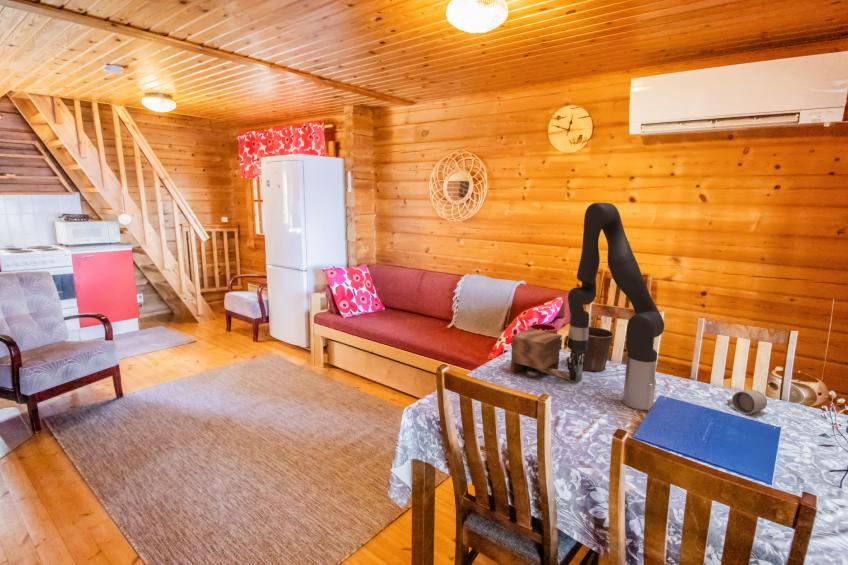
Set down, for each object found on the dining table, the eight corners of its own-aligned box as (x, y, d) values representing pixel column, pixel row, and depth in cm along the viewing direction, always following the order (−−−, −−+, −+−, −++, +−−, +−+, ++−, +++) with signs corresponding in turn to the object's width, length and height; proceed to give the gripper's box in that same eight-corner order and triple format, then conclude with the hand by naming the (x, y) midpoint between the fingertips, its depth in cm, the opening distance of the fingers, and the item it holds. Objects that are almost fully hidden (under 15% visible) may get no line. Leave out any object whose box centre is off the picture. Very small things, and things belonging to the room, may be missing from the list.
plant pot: (616, 367, 194) (620, 331, 192) (601, 377, 183) (605, 339, 180) (580, 358, 205) (583, 324, 203) (564, 366, 194) (567, 330, 191)
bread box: (558, 371, 188) (561, 335, 185) (541, 383, 175) (544, 343, 173) (527, 363, 197) (529, 328, 194) (508, 373, 185) (510, 336, 182)
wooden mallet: (581, 380, 179) (582, 363, 177) (577, 383, 176) (579, 366, 174) (531, 367, 193) (532, 351, 191) (526, 369, 190) (527, 353, 188)
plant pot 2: (538, 344, 224) (539, 321, 222) (560, 351, 214) (562, 327, 212) (521, 349, 216) (523, 325, 214) (544, 356, 206) (546, 331, 204)
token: (540, 375, 183) (540, 369, 183) (535, 379, 179) (536, 373, 179) (528, 373, 186) (529, 367, 186) (523, 376, 182) (524, 370, 182)
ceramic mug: (767, 413, 153) (770, 392, 152) (753, 418, 149) (756, 396, 148) (735, 401, 162) (737, 381, 161) (721, 405, 159) (723, 385, 158)
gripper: (580, 343, 168) (577, 386, 171) (594, 335, 178) (590, 375, 181) (561, 338, 172) (558, 380, 175) (576, 331, 183) (572, 371, 186)
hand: (574, 378), depth 178 cm, fingers closed on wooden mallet, 4 cm apart
